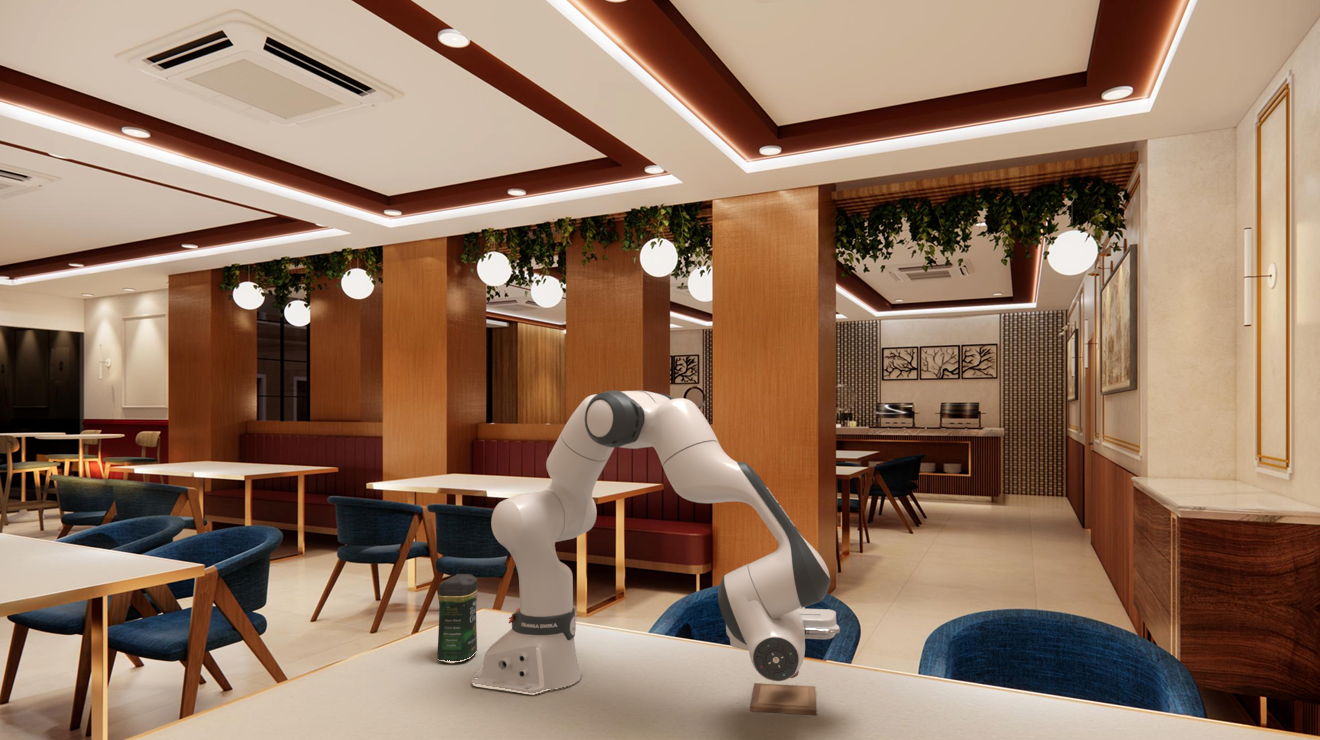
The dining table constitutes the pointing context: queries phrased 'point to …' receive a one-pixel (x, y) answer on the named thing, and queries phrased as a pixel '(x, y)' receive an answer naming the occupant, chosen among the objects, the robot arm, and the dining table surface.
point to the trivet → (783, 699)
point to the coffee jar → (457, 618)
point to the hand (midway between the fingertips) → (781, 610)
